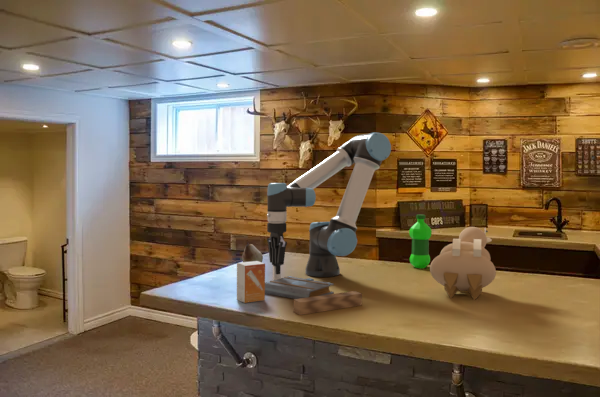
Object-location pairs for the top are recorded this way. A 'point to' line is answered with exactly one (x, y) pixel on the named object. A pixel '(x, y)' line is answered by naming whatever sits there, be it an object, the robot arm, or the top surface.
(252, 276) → the small box
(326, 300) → the rail
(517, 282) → the top surface
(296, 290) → the book
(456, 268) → the walrus toy
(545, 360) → the top surface
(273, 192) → the robot arm
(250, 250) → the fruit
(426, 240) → the plastic bottle
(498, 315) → the top surface
